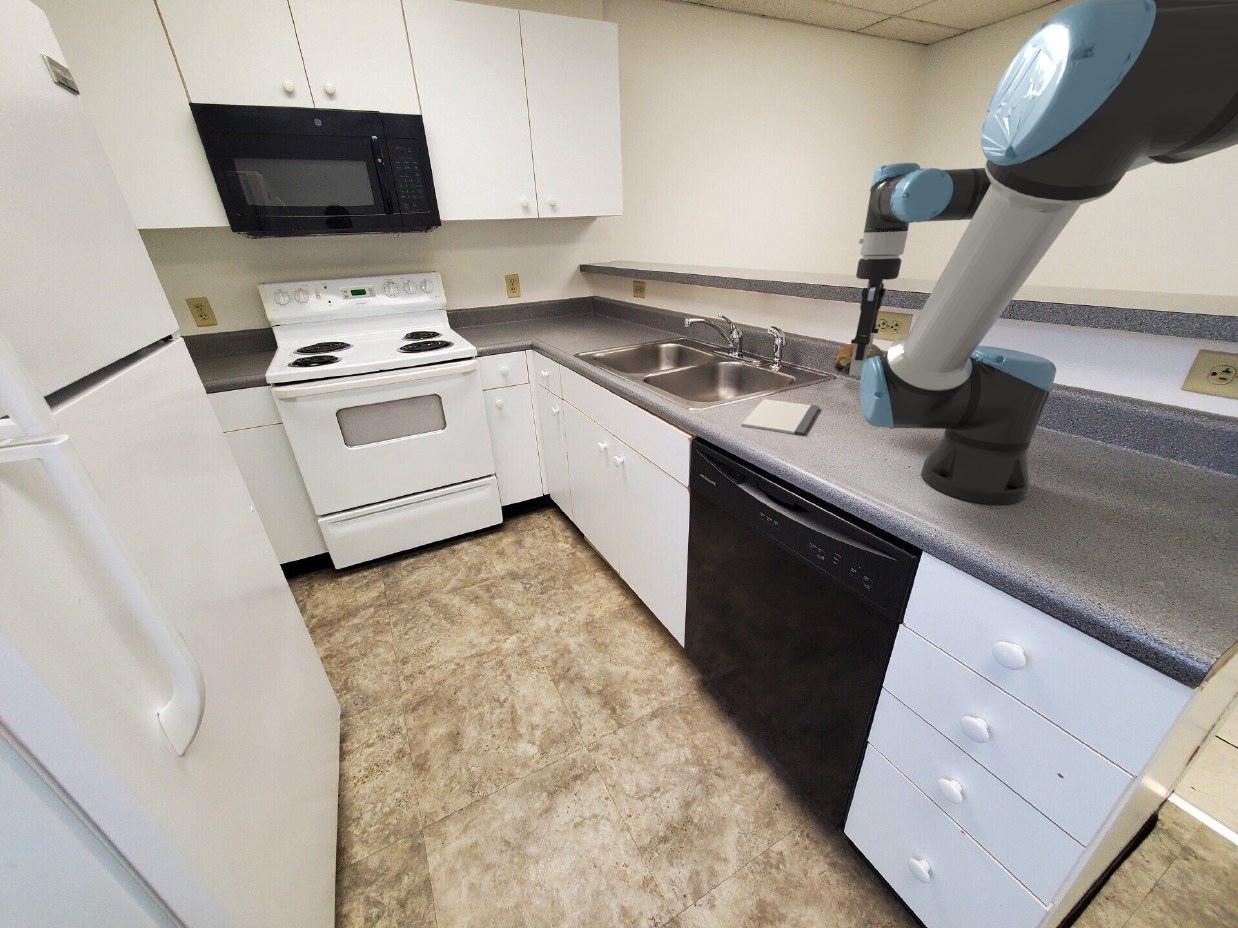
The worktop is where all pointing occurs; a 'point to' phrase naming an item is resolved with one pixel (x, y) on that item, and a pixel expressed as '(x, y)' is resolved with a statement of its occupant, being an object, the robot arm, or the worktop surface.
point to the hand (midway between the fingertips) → (858, 369)
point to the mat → (781, 417)
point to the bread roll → (845, 357)
